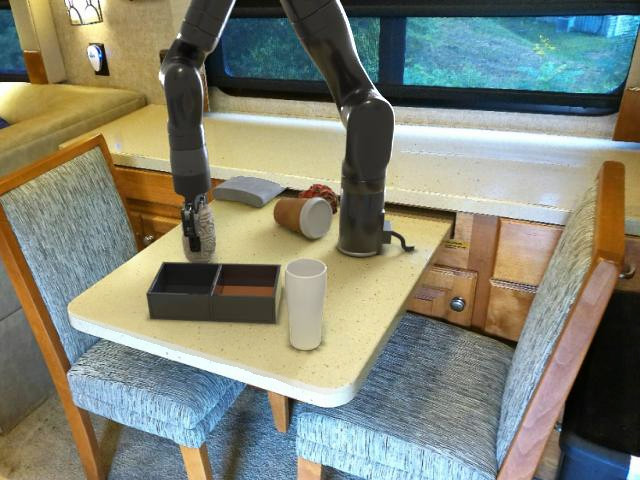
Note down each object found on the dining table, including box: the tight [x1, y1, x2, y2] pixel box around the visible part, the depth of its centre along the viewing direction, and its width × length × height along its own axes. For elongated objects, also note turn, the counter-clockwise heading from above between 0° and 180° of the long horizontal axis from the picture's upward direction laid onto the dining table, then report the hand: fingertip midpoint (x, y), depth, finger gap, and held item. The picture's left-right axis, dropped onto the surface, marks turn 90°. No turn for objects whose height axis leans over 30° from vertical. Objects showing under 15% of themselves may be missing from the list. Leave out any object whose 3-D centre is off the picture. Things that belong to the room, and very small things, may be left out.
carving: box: [181, 204, 217, 263], centre depth 125 cm, size 6×8×12 cm
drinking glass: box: [284, 257, 328, 351], centre depth 100 cm, size 7×7×15 cm
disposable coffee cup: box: [272, 197, 334, 240], centre depth 138 cm, size 10×10×12 cm
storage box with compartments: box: [145, 261, 283, 325], centre depth 114 cm, size 24×12×6 cm, turn 82°
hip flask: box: [211, 176, 288, 208], centre depth 162 cm, size 16×4×20 cm
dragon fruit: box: [296, 183, 340, 216], centre depth 146 cm, size 8×8×12 cm
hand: (199, 243), depth 126 cm, fingers closed on carving, 6 cm apart
